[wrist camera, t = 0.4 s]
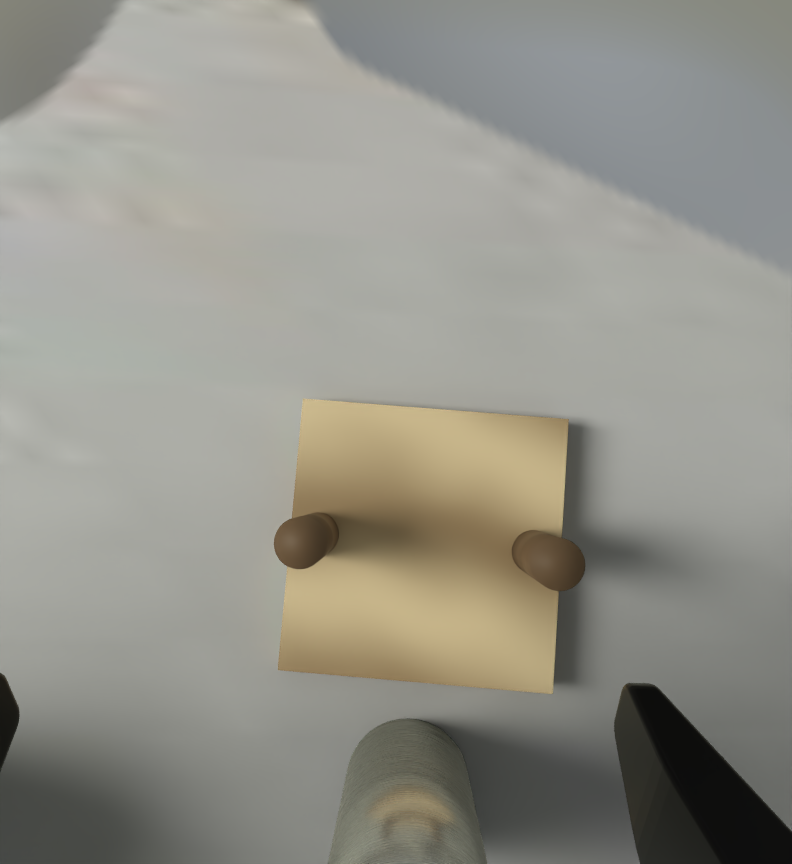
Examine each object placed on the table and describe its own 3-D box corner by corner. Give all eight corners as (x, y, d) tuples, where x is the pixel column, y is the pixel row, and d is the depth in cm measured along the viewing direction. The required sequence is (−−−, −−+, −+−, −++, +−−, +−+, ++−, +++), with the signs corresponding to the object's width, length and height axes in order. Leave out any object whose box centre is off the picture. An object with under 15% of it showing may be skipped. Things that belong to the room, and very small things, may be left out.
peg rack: (545, 683, 25) (582, 735, 19) (283, 661, 25) (251, 706, 20) (561, 422, 26) (600, 405, 20) (307, 402, 26) (282, 381, 21)
